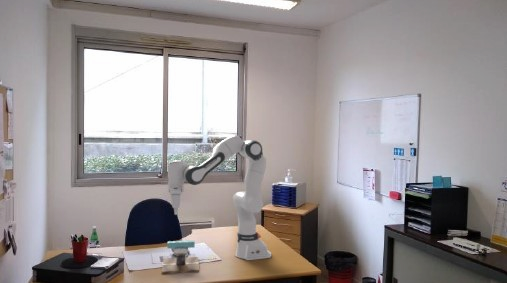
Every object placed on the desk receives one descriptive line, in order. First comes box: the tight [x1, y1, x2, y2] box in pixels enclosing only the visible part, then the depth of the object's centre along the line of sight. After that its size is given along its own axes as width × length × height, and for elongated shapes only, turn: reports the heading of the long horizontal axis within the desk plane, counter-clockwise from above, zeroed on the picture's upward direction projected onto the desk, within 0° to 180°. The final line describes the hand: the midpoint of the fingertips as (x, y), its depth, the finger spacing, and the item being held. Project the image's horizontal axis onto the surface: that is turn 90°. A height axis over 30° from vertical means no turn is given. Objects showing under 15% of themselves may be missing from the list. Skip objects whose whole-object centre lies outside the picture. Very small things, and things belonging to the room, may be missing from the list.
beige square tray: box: [161, 255, 200, 275], centre depth 210 cm, size 20×20×7 cm
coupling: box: [166, 240, 196, 257], centre depth 209 cm, size 8×15×7 cm, turn 100°
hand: (176, 212), depth 212 cm, fingers open, 8 cm apart
